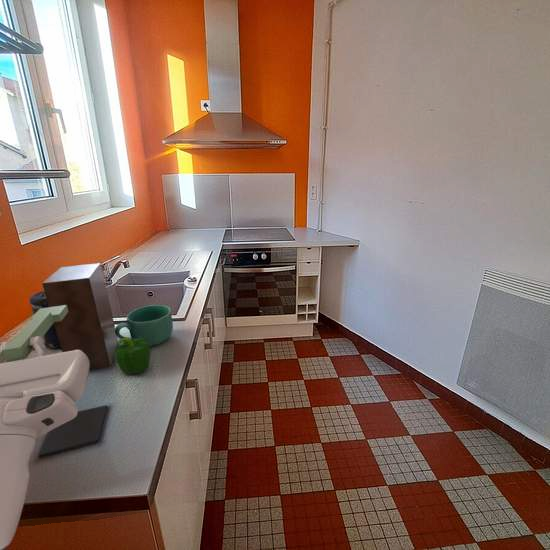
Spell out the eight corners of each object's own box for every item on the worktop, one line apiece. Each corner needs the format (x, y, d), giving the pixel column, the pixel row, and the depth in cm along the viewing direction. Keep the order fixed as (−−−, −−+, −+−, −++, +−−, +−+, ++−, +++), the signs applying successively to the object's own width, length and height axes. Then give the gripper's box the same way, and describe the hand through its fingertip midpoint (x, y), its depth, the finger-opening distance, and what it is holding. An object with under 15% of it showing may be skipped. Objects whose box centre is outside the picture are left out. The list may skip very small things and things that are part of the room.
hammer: (34, 358, 49) (30, 345, 48) (-4, 365, 47) (-9, 352, 47) (68, 311, 66) (65, 301, 65) (41, 315, 64) (38, 305, 64)
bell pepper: (156, 358, 86) (150, 327, 83) (148, 376, 78) (142, 343, 75) (125, 361, 85) (118, 330, 82) (114, 380, 77) (106, 346, 74)
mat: (38, 457, 57) (37, 455, 56) (56, 418, 66) (55, 416, 65) (98, 442, 59) (97, 439, 59) (107, 407, 68) (106, 404, 68)
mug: (167, 326, 104) (163, 301, 101) (180, 341, 95) (176, 313, 92) (115, 342, 95) (108, 315, 92) (123, 361, 85) (116, 331, 82)
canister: (86, 336, 99) (73, 285, 94) (61, 352, 91) (45, 297, 85) (63, 333, 102) (48, 283, 96) (36, 348, 93) (18, 294, 87)
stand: (69, 374, 80) (41, 283, 72) (82, 347, 93) (60, 267, 84) (110, 366, 83) (89, 277, 75) (118, 341, 96) (100, 263, 87)
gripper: (-78, 452, 42) (-41, 362, 50) (88, 413, 48) (95, 338, 56) (-114, 439, 37) (-67, 342, 46) (74, 398, 43) (84, 319, 52)
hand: (23, 340), depth 51 cm, fingers closed on hammer, 2 cm apart
